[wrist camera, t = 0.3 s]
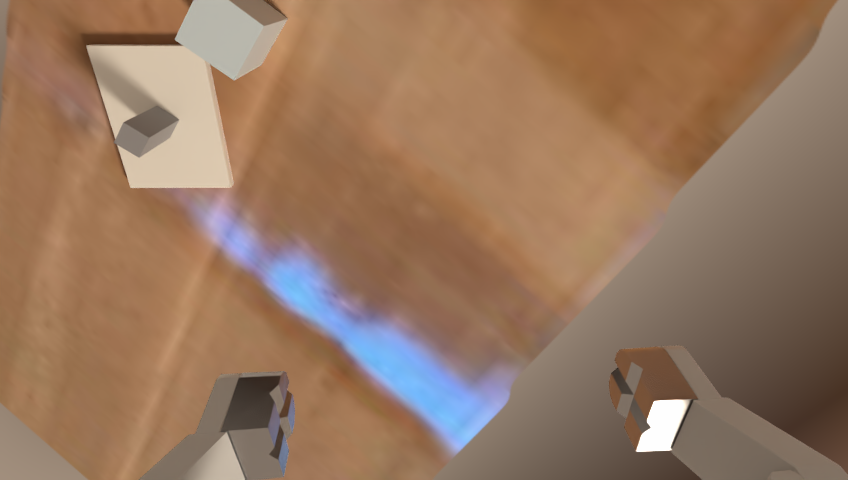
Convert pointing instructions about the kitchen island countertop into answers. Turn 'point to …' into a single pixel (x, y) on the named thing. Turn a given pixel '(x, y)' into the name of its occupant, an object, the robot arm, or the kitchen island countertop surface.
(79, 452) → the kitchen island countertop surface
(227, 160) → the post board
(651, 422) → the robot arm
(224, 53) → the tall grey rectangular prism
